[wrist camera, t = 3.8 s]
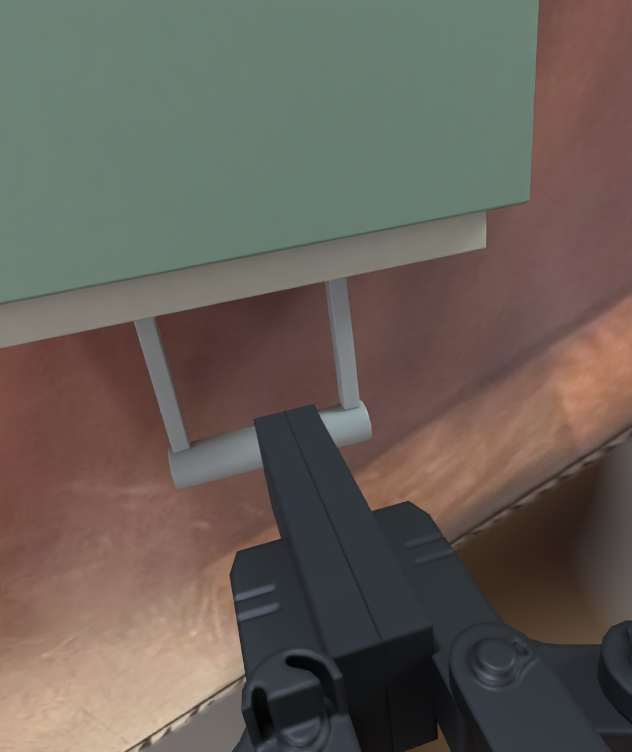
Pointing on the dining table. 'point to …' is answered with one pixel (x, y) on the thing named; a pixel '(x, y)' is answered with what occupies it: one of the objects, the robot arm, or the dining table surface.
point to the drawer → (233, 283)
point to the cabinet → (248, 128)
